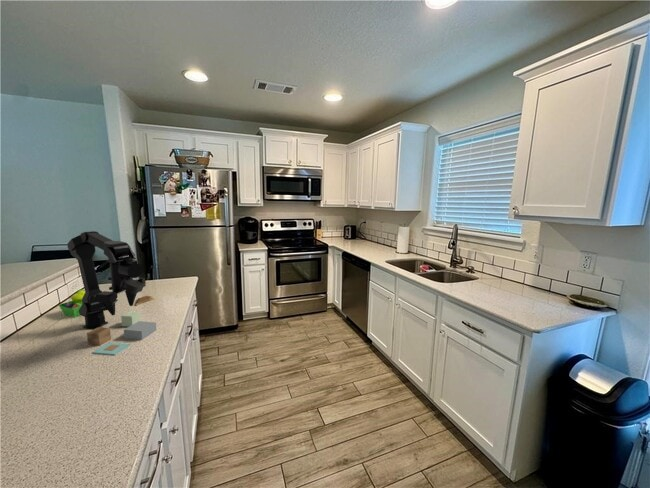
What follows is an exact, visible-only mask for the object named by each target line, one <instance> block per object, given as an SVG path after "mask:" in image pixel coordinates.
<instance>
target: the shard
mask: <svg viewBox="0 0 650 488" xmlns="http://www.w3.org/2000/svg"><path fill="white" fill-rule="evenodd" d="M152 300H155V297H154V296H150V295H144V296H140V297H138V298H137V300H136V303H135V305H136V306H139V305H141V304H145V303H147V302H150V301H152Z"/></svg>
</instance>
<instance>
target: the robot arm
mask: <svg viewBox="0 0 650 488" xmlns="http://www.w3.org/2000/svg"><path fill="white" fill-rule="evenodd" d="M66 245H67V249H68V250H69V252H70V255H71V256H72V257H73V258H75V259H76V260H77V263H78V268H79V273H80V276H81V280H82V281H81V282H82V284H83V285H82V286H83V288H84V289H83V290H85V294H84V296H83V298H82V305H81V307H80V309H79V310H78V311H79V314H80V315H81V316H80V317H84V322H85V325H83V326H82V329H89V330H94V329H96V328H98V327H103V326H104V325H106V324H108V323H109V322H108V321H106V316H105V311H106V312H107V311H108V313H110V315H111V316H116V303H117V302H118V300H119V299H118V295H119V294H122V293H125V296H126V299H127V302H128V305H129V307H133V306H134V303H135V300H136V296H137V294H138V293H140V292H143V289H144V288H145V287H146V286H147V285H146V283H147V282H146V278H145V277H141V278H139V277H140V276H141V275H142V274H143V272H144V268H143V266H142V264H140V263H138V260H136V259H137V256H136V254H135V252H134V251H133V250H132V248H131V246H130V245H129V243H127V242H125V241H119V240H114V239H113V240H112V239H111V238H108V237H106V236H104V235H102V234H100V233H99V232H98V231H95V230H93V231H92V230H91V231H83V232H81V233H80V234H79V235H77V236H75V237H73V238H71V239H70V240H68V242H67V244H66ZM96 248H99V249H101V250H102V251H103V255H105V257H107V258H108V259H107V260H106V262H107V263H109V269H110V270H109V271H110V276H109V277H107V278H108V279H107V280H108V281H110V282H111V283H110V284H111V286H109V287H108V290H110V291H107V290H104V291H102V290H101V289H100V286H99V280H98V277H97V272H96V268H95V264H94V263H95V262H94V259H93V257H94V255H95V253H96ZM137 278H139V279H137Z"/></svg>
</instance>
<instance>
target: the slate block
mask: <svg viewBox="0 0 650 488" xmlns="http://www.w3.org/2000/svg"><path fill="white" fill-rule="evenodd" d="M157 330H158V329H157V322H151V321H143V320H141V321H139V322H137V323H135V324H133V325H131V326H127V327H125V328H124V329H123V336H124V339H129V340H130V339H131V340H140V341H141V340H142V341H144V339H146V338H147V337H149V336H150V335H152V334H153V333H154V332H157Z"/></svg>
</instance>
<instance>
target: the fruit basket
mask: <svg viewBox="0 0 650 488" xmlns="http://www.w3.org/2000/svg"><path fill="white" fill-rule="evenodd" d="M84 294H85V289H79V290H77V291H76V293H74V294H72V295H71V297H70V299H71V300H69V301H67V302H63V303H60V304H58V307H59V308H60V309H61V311H62V313H63V314H64V315H65V316H69V317H72V318H77V317H79V316H80V317H82V316H81V315H80V314H79V311H78V310H79V309H80V307H81V305H82V298H83V296H84Z"/></svg>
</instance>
